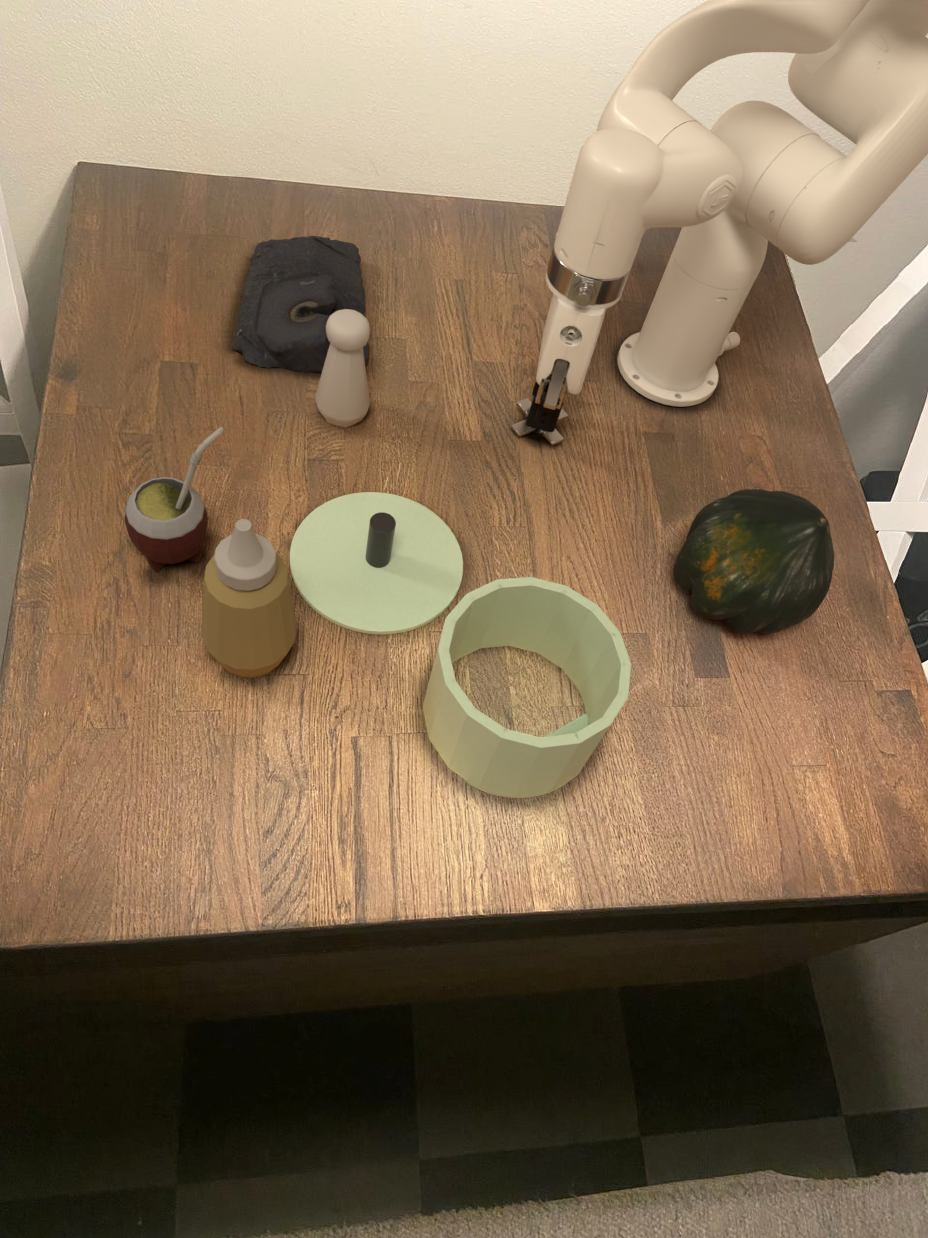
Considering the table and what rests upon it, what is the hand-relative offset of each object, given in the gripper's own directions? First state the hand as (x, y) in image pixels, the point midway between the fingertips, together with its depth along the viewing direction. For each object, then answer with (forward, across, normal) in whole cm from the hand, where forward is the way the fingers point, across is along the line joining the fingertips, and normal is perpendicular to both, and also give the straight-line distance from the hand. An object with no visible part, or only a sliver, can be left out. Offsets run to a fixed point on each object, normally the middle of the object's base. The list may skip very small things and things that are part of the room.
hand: (543, 411), depth 101 cm
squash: (+3, -16, -23) cm, 29 cm away
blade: (+3, 0, 0) cm, 3 cm away
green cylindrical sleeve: (+3, -37, -3) cm, 37 cm away
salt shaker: (+3, -6, +21) cm, 22 cm away
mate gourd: (+3, -28, +31) cm, 42 cm away
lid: (+2, -24, +13) cm, 27 cm away
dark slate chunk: (+3, +10, +30) cm, 31 cm away
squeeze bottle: (+3, -37, +21) cm, 43 cm away
